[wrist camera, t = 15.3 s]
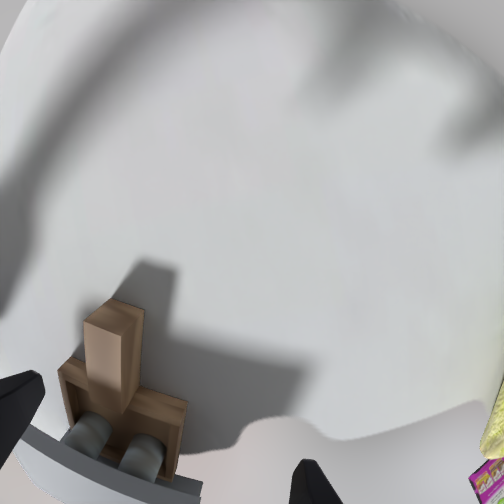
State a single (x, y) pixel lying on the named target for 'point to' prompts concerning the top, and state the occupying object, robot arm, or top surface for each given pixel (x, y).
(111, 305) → the walnut tray
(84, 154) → the top surface
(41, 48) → the top surface
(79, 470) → the grey piece
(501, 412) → the lettuce
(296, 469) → the robot arm
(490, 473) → the candy bar box
